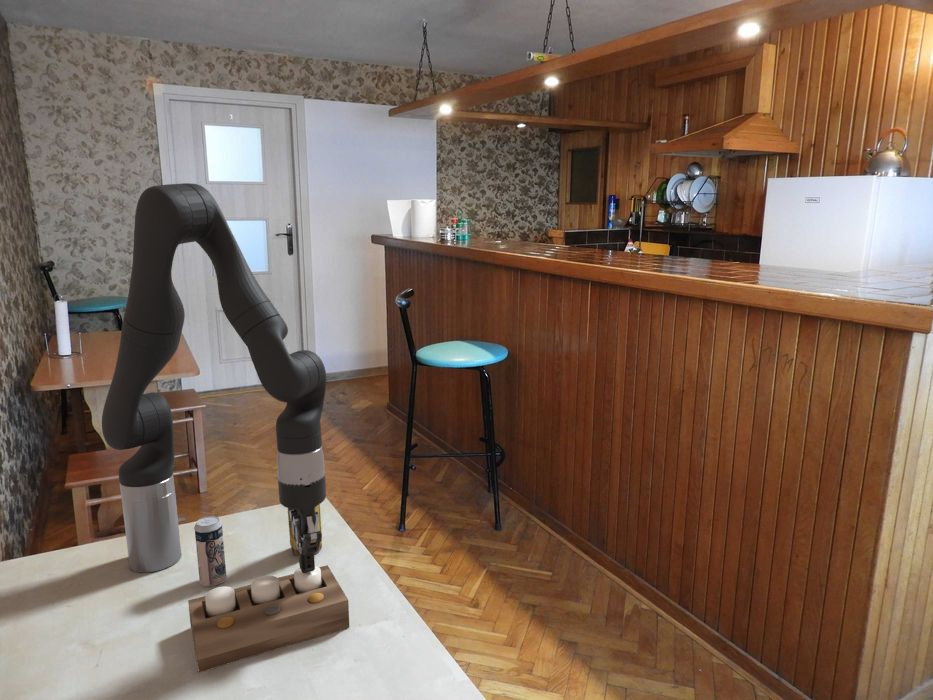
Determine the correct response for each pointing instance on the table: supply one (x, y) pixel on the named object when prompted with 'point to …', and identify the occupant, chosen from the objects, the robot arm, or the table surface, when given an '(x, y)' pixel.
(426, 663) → the table surface
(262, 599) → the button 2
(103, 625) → the table surface
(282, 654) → the table surface
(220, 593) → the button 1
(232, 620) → the button board
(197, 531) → the beer can
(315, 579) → the button
